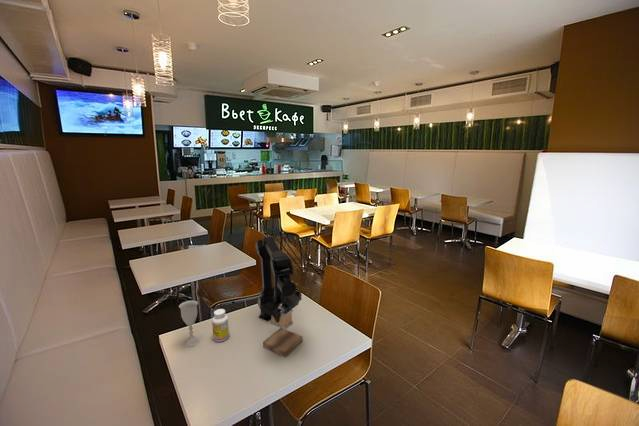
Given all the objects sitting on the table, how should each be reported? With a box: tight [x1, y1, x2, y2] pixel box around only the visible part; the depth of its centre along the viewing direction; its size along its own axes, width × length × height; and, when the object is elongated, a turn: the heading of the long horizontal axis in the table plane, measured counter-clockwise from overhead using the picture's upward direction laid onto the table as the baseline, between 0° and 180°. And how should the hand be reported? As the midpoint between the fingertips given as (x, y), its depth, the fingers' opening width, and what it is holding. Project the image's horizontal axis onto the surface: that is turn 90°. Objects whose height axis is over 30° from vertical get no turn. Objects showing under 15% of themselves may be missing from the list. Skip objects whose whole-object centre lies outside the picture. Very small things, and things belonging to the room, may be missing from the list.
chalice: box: [178, 300, 199, 347], centre depth 126 cm, size 7×7×18 cm
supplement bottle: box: [211, 308, 230, 343], centre depth 130 cm, size 7×7×13 cm
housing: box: [270, 304, 294, 330], centre depth 124 cm, size 5×8×7 cm, turn 58°
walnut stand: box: [262, 327, 303, 358], centre depth 127 cm, size 12×12×2 cm
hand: (281, 319), depth 124 cm, fingers closed on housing, 5 cm apart
